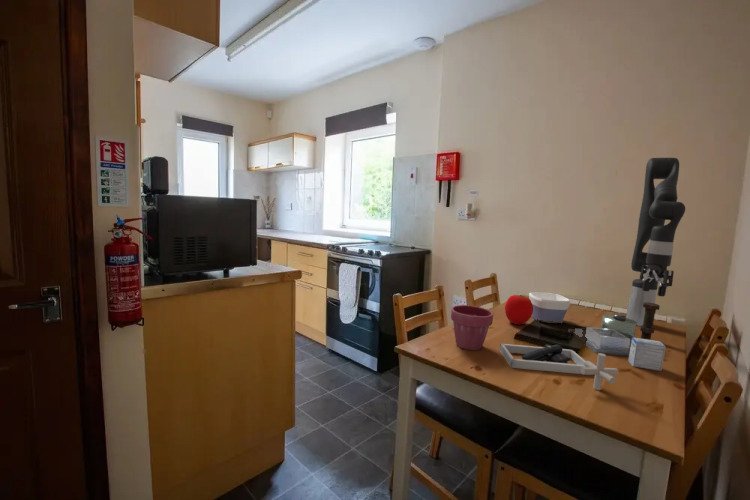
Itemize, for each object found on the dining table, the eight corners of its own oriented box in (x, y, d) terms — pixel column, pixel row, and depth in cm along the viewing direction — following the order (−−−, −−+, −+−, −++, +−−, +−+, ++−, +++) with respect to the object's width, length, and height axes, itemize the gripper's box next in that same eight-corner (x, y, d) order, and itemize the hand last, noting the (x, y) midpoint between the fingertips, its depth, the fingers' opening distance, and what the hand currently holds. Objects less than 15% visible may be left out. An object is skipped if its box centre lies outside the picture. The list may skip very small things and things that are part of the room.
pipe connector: (568, 379, 102) (573, 346, 101) (600, 379, 103) (605, 347, 102) (592, 398, 92) (598, 362, 91) (627, 398, 93) (633, 363, 92)
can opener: (553, 356, 119) (555, 340, 118) (571, 365, 113) (573, 348, 112) (512, 361, 112) (514, 345, 112) (529, 371, 106) (531, 354, 105)
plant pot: (466, 335, 133) (469, 302, 132) (498, 348, 122) (502, 313, 120) (440, 341, 125) (443, 307, 124) (471, 356, 114) (475, 319, 112)
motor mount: (567, 331, 145) (570, 307, 144) (622, 335, 143) (626, 312, 142) (596, 353, 123) (600, 325, 122) (661, 358, 122) (666, 331, 120)
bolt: (648, 338, 142) (654, 302, 140) (657, 343, 137) (663, 306, 135) (633, 337, 143) (639, 301, 141) (641, 341, 138) (647, 305, 136)
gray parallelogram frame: (499, 350, 120) (500, 343, 120) (571, 356, 119) (572, 349, 118) (511, 367, 107) (511, 359, 107) (591, 375, 106) (592, 367, 105)
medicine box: (655, 366, 115) (659, 341, 114) (661, 371, 111) (666, 345, 110) (627, 361, 118) (631, 336, 117) (632, 366, 114) (636, 341, 113)
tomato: (497, 320, 154) (500, 292, 152) (515, 318, 159) (518, 290, 157) (517, 329, 144) (521, 299, 142) (536, 326, 149) (539, 297, 147)
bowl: (572, 326, 151) (575, 302, 150) (536, 324, 152) (539, 299, 150) (554, 315, 167) (557, 293, 165) (522, 313, 167) (525, 291, 165)
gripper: (684, 256, 128) (676, 299, 130) (656, 251, 142) (650, 290, 144) (663, 254, 129) (655, 297, 131) (637, 250, 143) (631, 288, 145)
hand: (652, 293), depth 137 cm, fingers open, 8 cm apart
